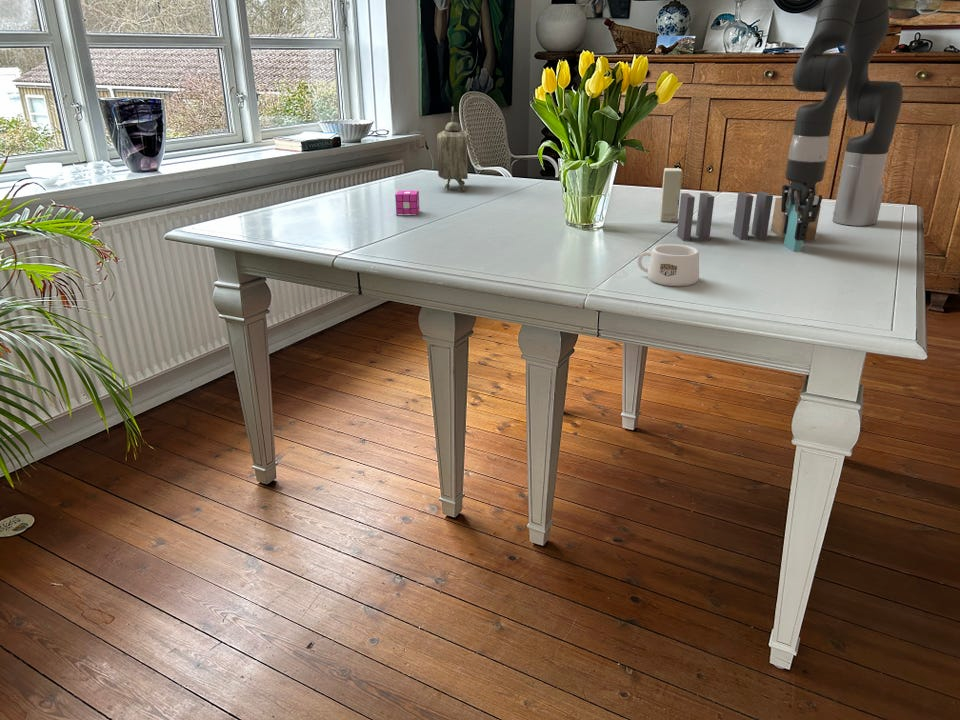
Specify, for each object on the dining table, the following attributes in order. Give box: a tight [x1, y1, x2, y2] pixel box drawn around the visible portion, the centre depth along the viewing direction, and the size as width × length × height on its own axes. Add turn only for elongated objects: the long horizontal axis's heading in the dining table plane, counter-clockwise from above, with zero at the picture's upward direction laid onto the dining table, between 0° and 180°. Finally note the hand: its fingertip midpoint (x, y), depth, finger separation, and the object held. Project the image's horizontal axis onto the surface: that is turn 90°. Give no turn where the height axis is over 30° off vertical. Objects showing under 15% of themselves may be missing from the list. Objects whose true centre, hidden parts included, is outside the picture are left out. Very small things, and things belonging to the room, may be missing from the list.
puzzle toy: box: [394, 190, 421, 215], centre depth 195 cm, size 6×6×6 cm
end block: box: [770, 197, 822, 242], centre depth 167 cm, size 6×10×8 cm, turn 3°
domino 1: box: [676, 192, 696, 242], centre depth 165 cm, size 2×5×10 cm, turn 3°
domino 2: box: [695, 192, 715, 241], centre depth 165 cm, size 2×5×10 cm, turn 3°
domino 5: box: [783, 202, 806, 252], centre depth 156 cm, size 2×5×10 cm, turn 3°
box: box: [659, 167, 683, 223], centre depth 182 cm, size 5×4×13 cm
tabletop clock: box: [436, 106, 469, 192], centre depth 223 cm, size 14×9×25 cm, turn 1°
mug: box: [637, 243, 700, 287], centre depth 137 cm, size 12×10×6 cm
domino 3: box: [732, 191, 755, 240], centre depth 166 cm, size 2×5×10 cm, turn 3°
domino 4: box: [750, 191, 774, 240], centre depth 166 cm, size 2×5×10 cm, turn 3°
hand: (794, 236), depth 157 cm, fingers closed on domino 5, 5 cm apart
